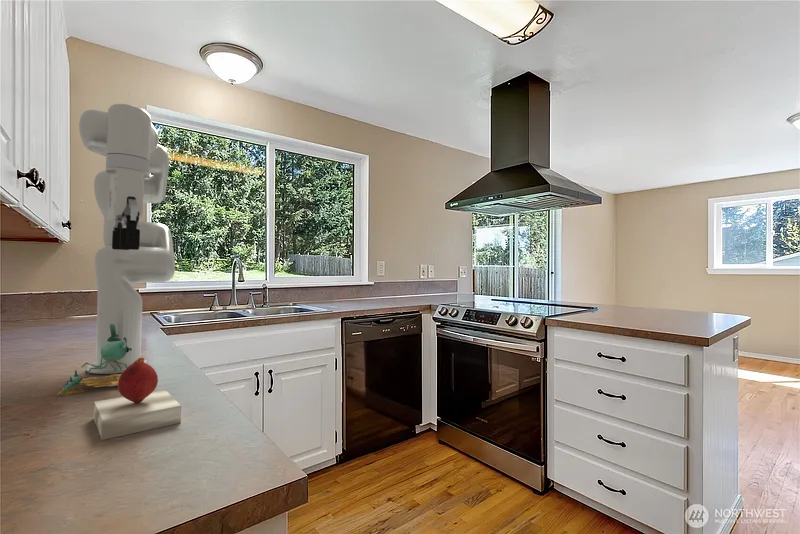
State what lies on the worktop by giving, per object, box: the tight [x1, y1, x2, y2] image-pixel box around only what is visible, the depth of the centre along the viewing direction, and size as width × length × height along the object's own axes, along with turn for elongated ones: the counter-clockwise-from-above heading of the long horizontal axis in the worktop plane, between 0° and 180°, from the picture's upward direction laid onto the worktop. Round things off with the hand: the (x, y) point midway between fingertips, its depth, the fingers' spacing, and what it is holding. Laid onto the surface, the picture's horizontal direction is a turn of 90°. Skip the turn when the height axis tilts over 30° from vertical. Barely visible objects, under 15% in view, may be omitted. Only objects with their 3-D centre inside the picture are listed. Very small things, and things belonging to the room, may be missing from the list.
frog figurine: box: [56, 324, 132, 397], centre depth 88 cm, size 10×18×15 cm, turn 137°
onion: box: [117, 356, 159, 403], centre depth 69 cm, size 6×6×8 cm
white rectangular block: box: [93, 389, 182, 441], centre depth 69 cm, size 11×11×3 cm
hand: (125, 249), depth 82 cm, fingers open, 9 cm apart
